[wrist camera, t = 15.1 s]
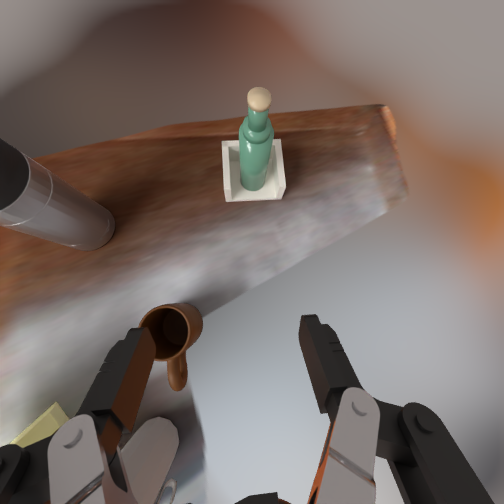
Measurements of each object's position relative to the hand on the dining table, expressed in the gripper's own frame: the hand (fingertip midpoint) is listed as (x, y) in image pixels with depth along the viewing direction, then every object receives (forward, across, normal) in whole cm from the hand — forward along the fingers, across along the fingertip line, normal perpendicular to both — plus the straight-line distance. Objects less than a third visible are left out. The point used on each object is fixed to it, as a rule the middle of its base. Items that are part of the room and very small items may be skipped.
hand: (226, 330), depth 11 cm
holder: (+38, -4, +2) cm, 39 cm away
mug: (+17, +10, +23) cm, 31 cm away
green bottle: (+38, -5, +2) cm, 38 cm away
